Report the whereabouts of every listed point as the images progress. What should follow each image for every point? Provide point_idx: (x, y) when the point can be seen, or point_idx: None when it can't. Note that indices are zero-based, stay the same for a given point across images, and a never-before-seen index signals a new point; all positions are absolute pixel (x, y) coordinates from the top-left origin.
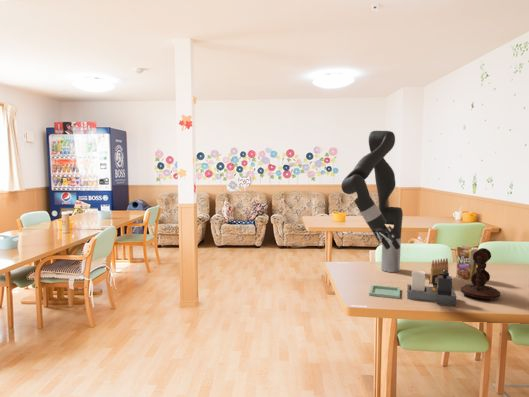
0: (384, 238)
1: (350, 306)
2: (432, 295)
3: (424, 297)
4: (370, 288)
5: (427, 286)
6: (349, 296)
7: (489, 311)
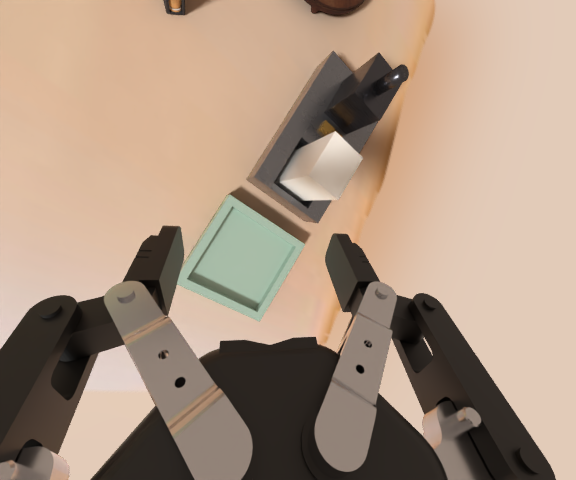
0: (149, 307)
1: None
2: None
3: None
4: (217, 302)
5: (290, 119)
6: None
7: (406, 66)
